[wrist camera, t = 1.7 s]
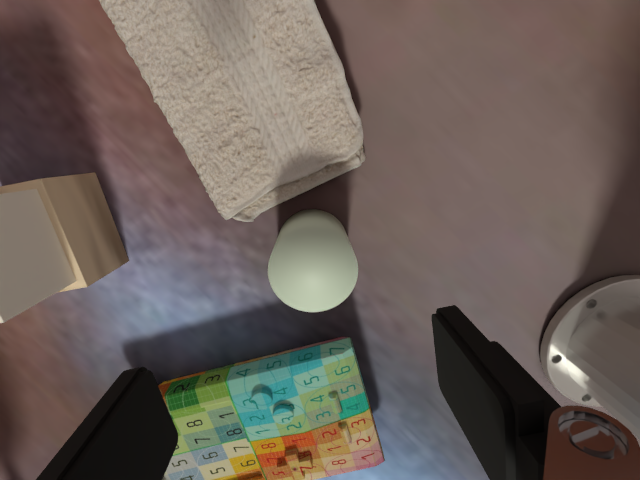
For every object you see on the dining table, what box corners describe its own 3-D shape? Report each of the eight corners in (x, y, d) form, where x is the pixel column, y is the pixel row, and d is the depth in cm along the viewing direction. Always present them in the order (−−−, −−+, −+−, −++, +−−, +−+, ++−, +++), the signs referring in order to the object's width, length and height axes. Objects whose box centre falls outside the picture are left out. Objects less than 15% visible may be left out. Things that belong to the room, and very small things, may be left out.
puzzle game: (387, 471, 26) (159, 523, 27) (376, 423, 31) (181, 470, 32) (354, 354, 23) (96, 418, 24) (347, 320, 27) (130, 375, 28)
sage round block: (340, 202, 24) (350, 219, 19) (352, 268, 26) (364, 303, 20) (270, 216, 24) (257, 238, 19) (286, 281, 26) (279, 319, 20)
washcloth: (237, 226, 25) (227, 236, 22) (93, -17, 20) (56, -44, 17) (374, 156, 24) (383, 158, 21) (255, -119, 19) (245, -168, 16)
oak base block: (96, 172, 23) (40, 178, 19) (130, 260, 25) (87, 286, 20) (5, 190, 24) (-73, 201, 19) (46, 276, 25) (-16, 306, 21)
